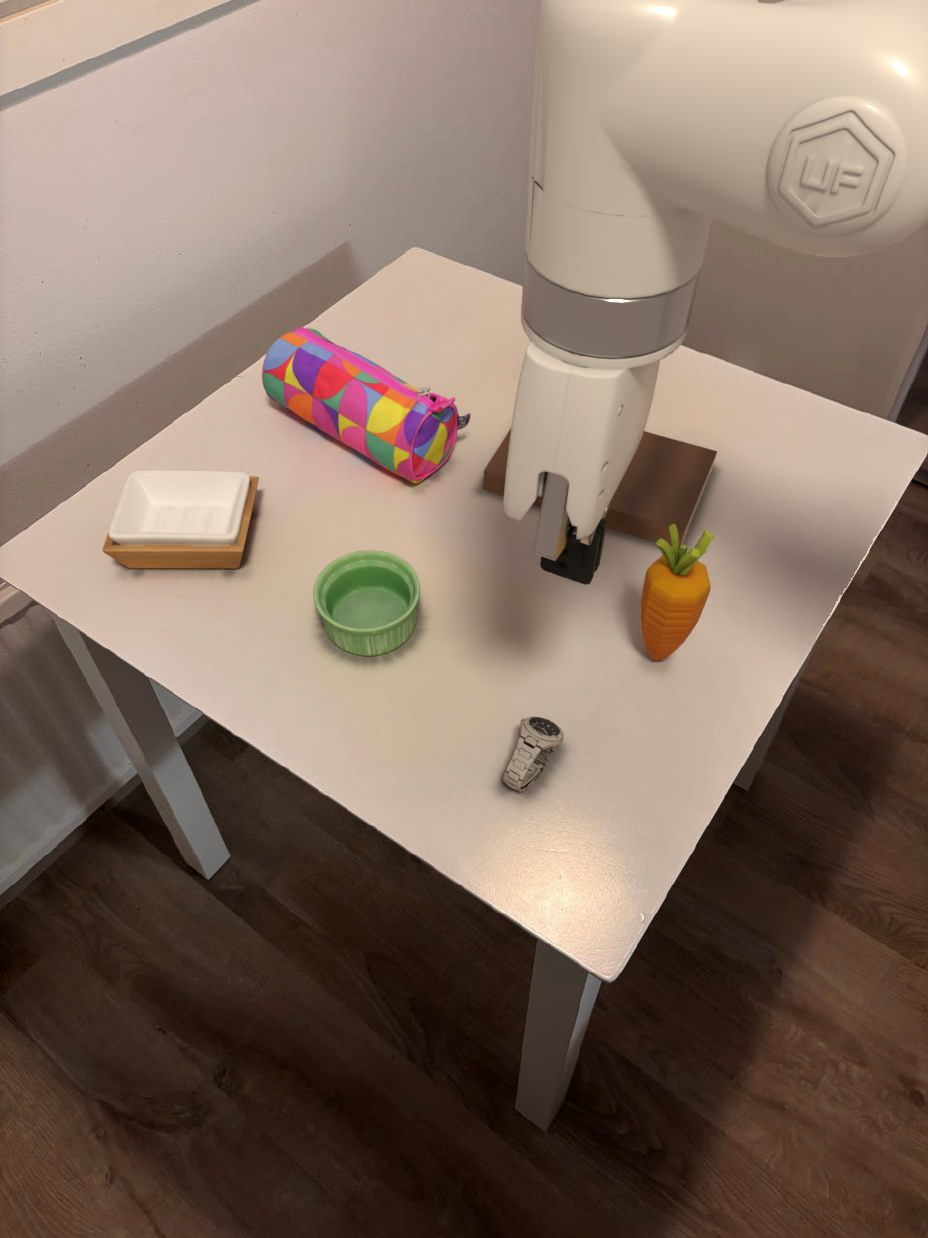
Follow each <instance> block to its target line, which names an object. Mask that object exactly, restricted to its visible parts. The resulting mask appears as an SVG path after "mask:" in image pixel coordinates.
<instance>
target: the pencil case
mask: <svg viewBox="0 0 928 1238" xmlns="http://www.w3.org/2000/svg"><path fill="white" fill-rule="evenodd" d="M261 382H262V386H263V389H264V391H265V393H266V395H267V396H268V398H269V399H270V400H272V401H273V402H275V403H278V404H279V405H281V406H282V407H284V408H286V409H288V410H290V411H292V412H293V413H294V414H295V415H297V416H299V417H300V418H301V419H303V420H304V421H306V422H308V423H309V424H311V425H312V426H314V427H316V428H317V429H319V430H320V431H321V432H323V433H325V434H328V435H329V436H330V437H332V438H334V439H336V440H337V441H340V442H341V443H342V444H344V445H346V446H347V447H348V448H351V449H353V450H354V451H357V452H358V453H360V454H361V455H363V456H365V457H366V458H368V459H369V460H371V461H372V462H374V463H376V464H377V465H379V466H380V467H382V468H384V469H385V470H387V471H389V472H390V473H392V474H394V475H397V476H400V477H402V478H404V479H405V480H406V481H409V482H412V483H413V484H419V483H421V482H423V481H424V480H425V479H427V478H428V477H429V476H431V475H432V474H434V473H435V472H436V471H437V470H439V469H440V468H441V467H443V466H444V465H445V463H446V462H447V461H448V460H449V458H450V456H451V454H452V452H453V450H454V447H455V443H456V439H457V434H458V431H460V430H463V429H464V428H466V427H467V426H468V425H469V423H470V421H471V416H472V414H471V412H469V413H467V414H464V415H460V414H459V410H458V408H457V405H456V404H455V401H456V397H450V398H447V397H446V396H443V395H440V394H437V393H435V392H430V390H431V389H432V387H429V386H423V387H420V388H417V387H414V386H413V385H410V384H409V383H408V382H406V381H405V380H403V379H401V378H400V377H398V376H396V375H394V374H393V373H392V372H390V371H388V370H387V369H386V368H385V367H383V366H381V365H379V364H377V363H376V362H374V361H373V360H370V359H369V358H367V357H365V356H364V355H362V354H360V353H357V352H355V351H352V350H349V349H347V348H346V347H343V346H341V345H338V344H336V343H335V342H333V341H332V340H330V339H329V338H327V337H326V336H325V335H324V334H322V333H321V332H320V331H319V330H317V329H314V328H310V327H303V326H300V327H297V328H296V329H295V330H293V331H289V332H287V333H285V334H283V335H282V336H280V337H279V338H278V339H276V340H275V341H274V342H273V343H272V344H271V345H270V347H269V348H268V350H267V352H266V354H265V357H264V360H263V364H262V369H261Z"/></svg>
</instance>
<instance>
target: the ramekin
mask: <svg viewBox="0 0 928 1238" xmlns="http://www.w3.org/2000/svg"><path fill="white" fill-rule="evenodd" d="M420 583H421V582H420V580H419V576H418V574H417V572H416V571H415V569H414V567H412V566H411V564H410V563H409V562H408V561H407V560H405V559H404V558H402V557H400V556H398V555H396V554H394V553H392V552H388V551H384V550H378V549H367V550H366V549H365V550H358V551H353V552H349V553H346V554H344V555H341V556H340V557H337V558H336V559H334V560H332V562H329V564H327V565H326V566H325V567H324V568H323V569H322V571H321V572H320V573H319V574H318V576H317V577H316V580H315V582H314V586H313V590H312V598H313V603H314V606H315V608H316V611H317V612H318V614H319V616H320V617H321V619H322V622H323V625H324V629H325V630H326V631H325V632H326V634H327V635H328V637H329V638H330V640H331V641H332V642H333V643H334V645H336V647H338V648H339V649H341V650H343V651H345V652H347V653H349V654H353V655H356V656H362V657H363V656H364V657H371V656H380V655H383V654H384V655H385V654H387V653H390V652H392V651H394V650H395V649H398V648H399V647H400V646H402V645H403V644H404V643H405V642H406V641H407V640H408V639H409V638H410V636H411V635H412V634H413V632H414V630H415V627H416V625H417V619H418V605H419V601H420V596H421V585H420Z"/></svg>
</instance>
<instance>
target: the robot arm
mask: <svg viewBox="0 0 928 1238" xmlns="http://www.w3.org/2000/svg"><path fill="white" fill-rule="evenodd" d="M538 3H539V4H538V14H537V22H536V23H537V24H536V38H535V53H534V71H533V73H534V74H533V76H534V77H533V91H532V92H533V93H532V106H531V107H532V109H531V125H530V126H531V127H530V145H529V149H530V150H529V162H528V183H527V184H528V185H527V186H528V187H527V205H526V206H527V207H526V221H525V222H526V223H525V241H524V254H523V255H524V256H523V271H522V272H523V275H522V289H521V290H522V291H521V306H520V323H521V327H522V329H523V332H524V333H525V335H526V336H527V337H528V339H529V341H528V343H527V346H526V349H525V353H524V357H523V360H522V365H521V370H520V373H519V374H520V375H519V380H518V383H517V389H516V393H515V401H514V406H513V413H512V419H511V425H510V426H511V427H510V429H511V434H510V442H509V451H508V460H507V469H506V479H505V489H504V495H503V502H502V503H503V505H502V506H503V510H504V513H505V516H506V517H508V518H510V519H513V520H516V521H519V522H521V521H522V520H523V519H524V517H525V516H526V514H527V513H528V512H529V510H530V509H531V507H532V506H533V503H534V502H535V500H536V498H537V496H539V497H543V499H542V505H541V507H540V509H539V510H540V511H539V516H538V522H537V527H536V533H535V538H534V544H533V550H532V553H533V554H534V555H537V556H540V562H539V566H540V569H541V570H542V571H545V573H546V572H547V573H549V574H552V575H555V576H558V577H561V578H563V579H566V580H570V581H572V582H575V583H579V584H581V585H584V586H589V585H590V584H591V583H592V581H593V578H594V576H595V573H596V572H597V571H598V569H599V567H600V564H601V559H602V555H603V553H602V552H603V548H604V542H605V536H606V531H607V527H606V526H607V521H605V520H601V518H604V517H605V515H606V513H607V511H608V508H609V504H610V501H611V499H612V497H613V495H614V493H615V491H616V489H617V488H618V486H619V484H620V482H621V480H622V478H623V476H624V474H625V472H626V470H627V468H628V466H629V464H630V462H631V460H632V458H633V456H634V454H635V452H636V450H637V448H638V445H639V443H640V441H641V438H642V436H643V433H644V431H646V426H647V423H648V419H649V416H650V412H651V408H652V404H653V399H654V395H655V391H656V385H657V379H658V375H659V369H660V364H661V361H662V360H663V359H666V358H667V357H668V356H670V355H672V354H674V352H676V351H677V350H678V349H679V348H680V347H681V346H682V344H683V343H684V341H685V339H686V337H687V334H688V329H689V324H690V319H691V315H692V312H693V306H694V303H695V302H694V301H695V297H696V293H697V287H698V284H699V279H700V275H701V270H702V266H703V262H704V257H705V253H706V249H707V245H708V244H707V243H708V239H709V237H710V236H709V235H710V230H711V228H712V227H711V226H712V223H713V221H715V222H718V223H720V224H722V225H725V226H728V227H730V228H732V229H734V230H737V231H739V232H741V233H743V234H746V235H748V236H751V237H753V238H755V239H758V240H761V241H763V242H766V243H769V244H771V245H773V246H776V247H778V248H782V249H784V250H788V251H791V252H795V253H799V254H803V255H809V256H814V257H820V258H851V257H852V258H853V257H858V256H864V255H868V254H871V253H876V252H878V251H881V250H884V249H886V248H889V247H891V246H893V245H895V244H897V243H899V242H901V241H903V240H904V239H906V238H907V237H909V236H911V235H912V234H913V233H915V232H916V231H917V230H919V229H920V228H921V227H922V226H923V225H924V224H925V223H927V222H928V0H782V1H779V2H773V3H769V2H759V0H539V2H538Z"/></svg>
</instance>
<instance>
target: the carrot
mask: <svg viewBox="0 0 928 1238" xmlns="http://www.w3.org/2000/svg"><path fill="white" fill-rule="evenodd" d="M669 531H670V535H671V540H672V547H671V546H670V545H669V543H667V542H666V541H665V540H663V539H659V540H658V541H657V542H655V545H656V547H657V548H658V549H659V550H660V552H661V555H660V556H659V557H658V558H657V559H656V560H655V561H654V562H653V563H652V564H650V565H649V567H648V568H647V569H646V571H645V575H644V581H643V584H642V585H643V586H642V591H641V592H642V593H641V599H640V625H641V635H642V639H643V644H644V647H645V650H646V652H647V653H648V655H649V657H650V658H651V659H652V660H654V661H663V660H665V659H667V658H669V657H670V656H671V655H672V654H673V653H674V652H675V651H677V650H678V649H679V648H680V647H681V646H682V645H683V644H684V643H685V642H686V640H687V639H688V637H689V636H690V635H691V633H692V632H693V630H694V628H695V627H696V625H697V624H698V622H699V621H700V618H701V616H702V613H703V611H704V609H705V606H706V604H707V600H708V598H709V595H710V592H711V588H712V586H711V580H710V576H709V573H708V567H707V565H705V564H704V563H702V562H701V561H699V560H700V559H701V558H702V556H703V555H705V554H706V553H707V552H708V548H709V546H710V544H711V543H712V541H713V540H714V534H713V533H712V532H711V530H708V529H705V530H704V532H703V533H702V535H701V536H700V538H699V539H698V541H697V542H696V544H695V546H694V547H692V548H691V549H689V550H688V545H686V544H682V545H681V546H680V549H679V537H678V531H677V527H676V524H672V525H670V526H669Z"/></svg>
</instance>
